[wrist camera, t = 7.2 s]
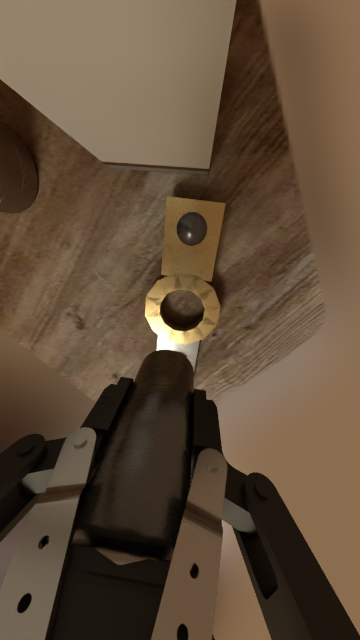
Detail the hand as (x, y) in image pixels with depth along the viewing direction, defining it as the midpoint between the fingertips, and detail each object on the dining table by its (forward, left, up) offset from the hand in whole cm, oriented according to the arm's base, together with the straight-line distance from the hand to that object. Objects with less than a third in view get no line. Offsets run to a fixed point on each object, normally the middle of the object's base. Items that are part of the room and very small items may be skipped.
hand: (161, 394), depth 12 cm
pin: (0, 0, -2) cm, 2 cm away
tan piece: (0, 0, -17) cm, 17 cm away
